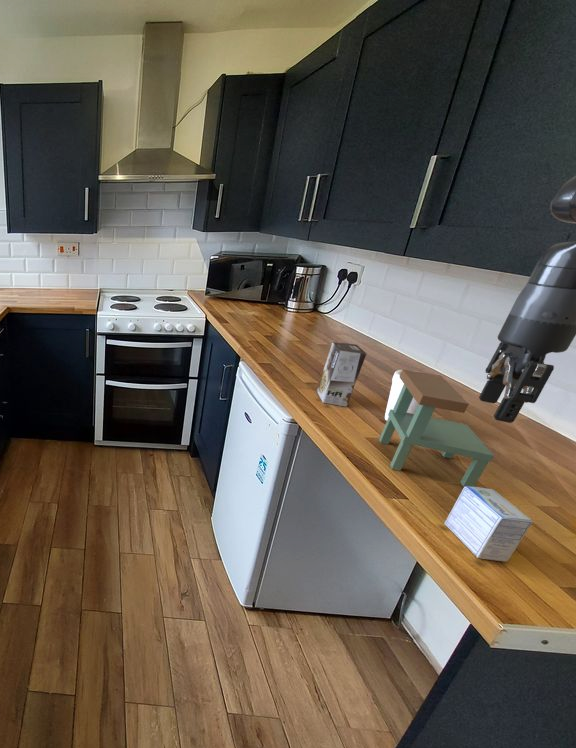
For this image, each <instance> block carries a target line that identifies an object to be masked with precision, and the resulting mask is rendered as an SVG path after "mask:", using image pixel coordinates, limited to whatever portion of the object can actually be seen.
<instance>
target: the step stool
mask: <svg viewBox="0 0 576 748" xmlns="http://www.w3.org/2000/svg"><path fill="white" fill-rule="evenodd" d="M401 370H402V372H401V374H400V377H399V378H400V379H401V380H402V382H403V383H404V385H403V387H402V390H401V392H400V394H399V397H398V399H397V402H396V404H395V406H394V409H393V410H391V409H390V411H389V414H388V416H389V417H388V419H387V421H386V422H385V424H384V427H383V429H382V431H381V434H380V436H379V439H378V441H379V443H380V444H384V445H389V444H390V441H391V439H392V437H393V435H394V432H395V431H396V433H397V435H398V437H399V439H400V442H399V444H398V446H397V448H396V451H395V453H394V455H393V458H392V459H391V462H390V464H389V465H390V469H391V470H394V471H398V472H401V471H402V468H403V466H404V464H405V462H406V460H407V458H408V455H409V453H410V451H411V449H412V447H413V446H415V447H421V448H425V449H429V450H434V451H439V452H441V455H442V457H443V458H446V459H450V460H453V459H454V456H455V455H457V456H461V457H466V458H470V459H472V460H471V462H470V463H469V466H468V467H467V469H466V470H465V473H464V474H463V476H462V478H461V479H460V482H459V483H460V484H461V486H462V487H463V488H464V487H465V486H469V487H476V485H477V483H478V481H479V480H480V477H481V476H482V474H483V473H484V470H486V467H487V465H488V463H492V461H493V459H494V456H495V454H493V453H492V451H490V449H489V448H488V447H487V445H485V443H484V442H483V441H482V440H481V439H480V438H479V437H478V435H477V434H476V433H475V431H473V430H472V428H471V427H470V426H469V425H468V424H467V423H461V422H457V421H451V420H447V419H442V418H436V417H432V416H433V414H434V411H435V410H436V409H441V410H445V411H450V412H457V413H462V414H465V413H466V410H467V409H468V406H469V405H470V404H469V402H467V400H466V399H465V398H464V397H463V396H462V395H461V394H460V393H459V392H458V391H457V390H456V389H455V388H454V387H453V386H452V385H451V384H450V383H449V382H448V381H447V380H446V379H445V378H444V377H443V376H442V375H439V374H434V373H427V372H421V371H417V372H416V370H410V369H401ZM413 397H414V399H415V400H416V401H417V403H418V404H419V405H418V407H417V409H416V412H415V414H411V413H407V410H408V408H409V406H410V404H411V401H412V399H413Z"/></svg>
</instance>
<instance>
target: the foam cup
mask: <svg viewBox="0 0 576 748" xmlns="http://www.w3.org/2000/svg"><path fill="white" fill-rule="evenodd" d="M402 370H403V369H398V370H395V372H394V374H393V376H392V379H391V381H392V383H391V386H390V391H389V396H388V399H387V404H386V408H385V409H386V410H385V413H384V420H385V421H386V422H387V419H388V417H389V416H388V414H389V411H390V409H391V410H393V409H394V406H395V404H396V402H397V399H398V397H399V394H400V392H401V390H402V387H403V385H404V383H403V382H402V380H401V379H400V378H399V377H400V374H401V372H402ZM415 371H416V370H415ZM416 372H418V370H417V371H416ZM418 405H419V404H418V403H417V401H416V400H415V399H414V397H413V399H412V401H411V404H410V406H409V408H408V410H407V413H411V414H415V412H416V409H417V407H418Z"/></svg>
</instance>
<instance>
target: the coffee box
mask: <svg viewBox="0 0 576 748" xmlns="http://www.w3.org/2000/svg"><path fill="white" fill-rule="evenodd" d="M366 356H367V352H366V351H364V350H363V349H362V348H361V347H360V346H359V345H358V344H355V343H347V342H336V341H332V343H331V345H330V349H329V351H328V355H327V358H326V361H325V365H324V367H323V370H322V373H321V377H320V380H319V383H318V386H317V389H316V392H317V394H318V396H319V399H320V400H321V402H322V403H323V404H328V405H334V406H339V407H345V408H346V407H347V406H348V404H349V402H350V399H351V397H352V394H353V391H354V388H355V386H356V383H357V380H358V377H359V374H360V372H361V370H362V367H363V364H364V362H365V359H366Z"/></svg>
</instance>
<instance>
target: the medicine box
mask: <svg viewBox="0 0 576 748" xmlns="http://www.w3.org/2000/svg"><path fill="white" fill-rule="evenodd" d="M533 523H534V521H533V520H532V519H531V518H530V517H529V516H527V515H526V514H525V513H524V512H522V511H521V509H519V508H517V507H516V506H515V505H514V504H512V503H511V502H510V501H509V500H507V499H506V498H505V497H504V496H502V495H501V494H500V493H498V492H497V491H496V490H494V489H493V488H488V487H487V488H486V487H479V486H474V487H469V486H465V487H463V488H462V490H461V492H460V494H459V496H458V498H457V500H456V502H455V503H454V505H453V507H452V508H451V511H450V512H449V514H448V516H447V518H446V520H445V522H444V525H445V526H446V527H447V528H448V529H449V530H450V532H451V533H452V534H453V535H455V536H456V537H457V538H458V539H459V540H460V542H462V544H463V545H464V546H465V547H466V548H468V550H469V551H470V552H471V553H472V554H473V555H474V556H475V557H476V558H477V559H481V560H489V561H495V562H496V561H497V562H503V563H507V562H509V561H510V559H511V557H512V556H513V554H514V553H515V551H516V550H517V548H518V546H519V545H520V543H521V541H522V540H523V538H524V537H525V535H526V534H527V532H528V530H529V529H530V527H531V526H532V524H533Z"/></svg>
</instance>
